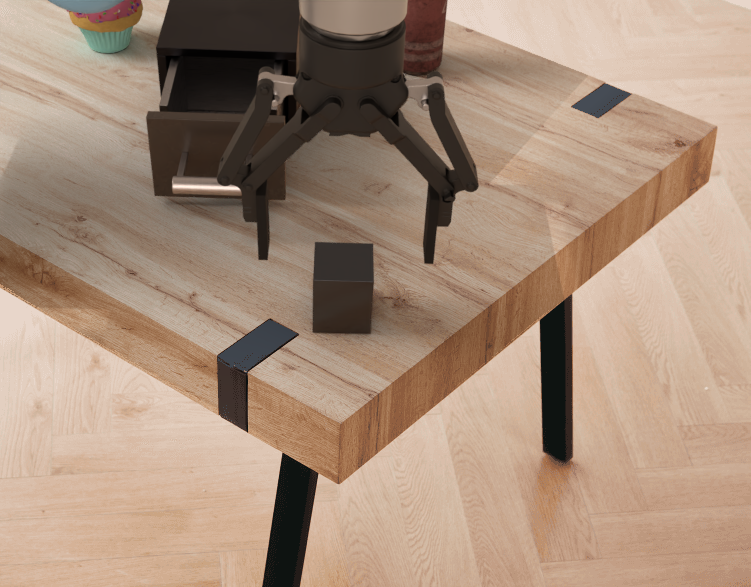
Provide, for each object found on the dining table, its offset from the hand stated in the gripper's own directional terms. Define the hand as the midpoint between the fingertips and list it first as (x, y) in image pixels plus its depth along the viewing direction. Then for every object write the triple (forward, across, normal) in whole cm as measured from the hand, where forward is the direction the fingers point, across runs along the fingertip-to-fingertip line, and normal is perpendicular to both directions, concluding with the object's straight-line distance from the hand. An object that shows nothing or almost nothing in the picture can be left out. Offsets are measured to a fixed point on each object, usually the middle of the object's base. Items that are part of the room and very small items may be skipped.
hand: (346, 252), depth 89 cm
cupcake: (+7, +28, -46) cm, 54 cm away
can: (+7, -8, -44) cm, 45 cm away
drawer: (+6, +12, -20) cm, 24 cm away
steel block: (+7, 0, 0) cm, 7 cm away
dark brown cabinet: (+7, +12, -34) cm, 37 cm away
